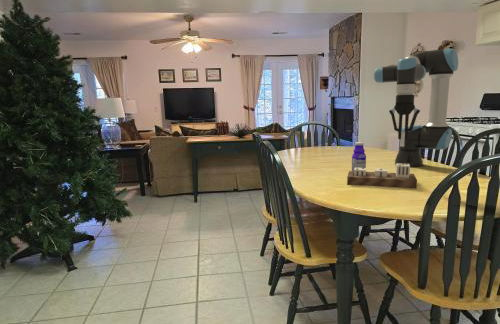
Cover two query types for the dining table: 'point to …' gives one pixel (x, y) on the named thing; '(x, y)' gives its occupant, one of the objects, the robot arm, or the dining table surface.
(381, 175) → the cream block
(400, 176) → the key three
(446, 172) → the dining table surface
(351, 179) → the keyboard base
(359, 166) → the bottle
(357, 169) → the key two
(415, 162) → the robot arm
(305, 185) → the dining table surface
